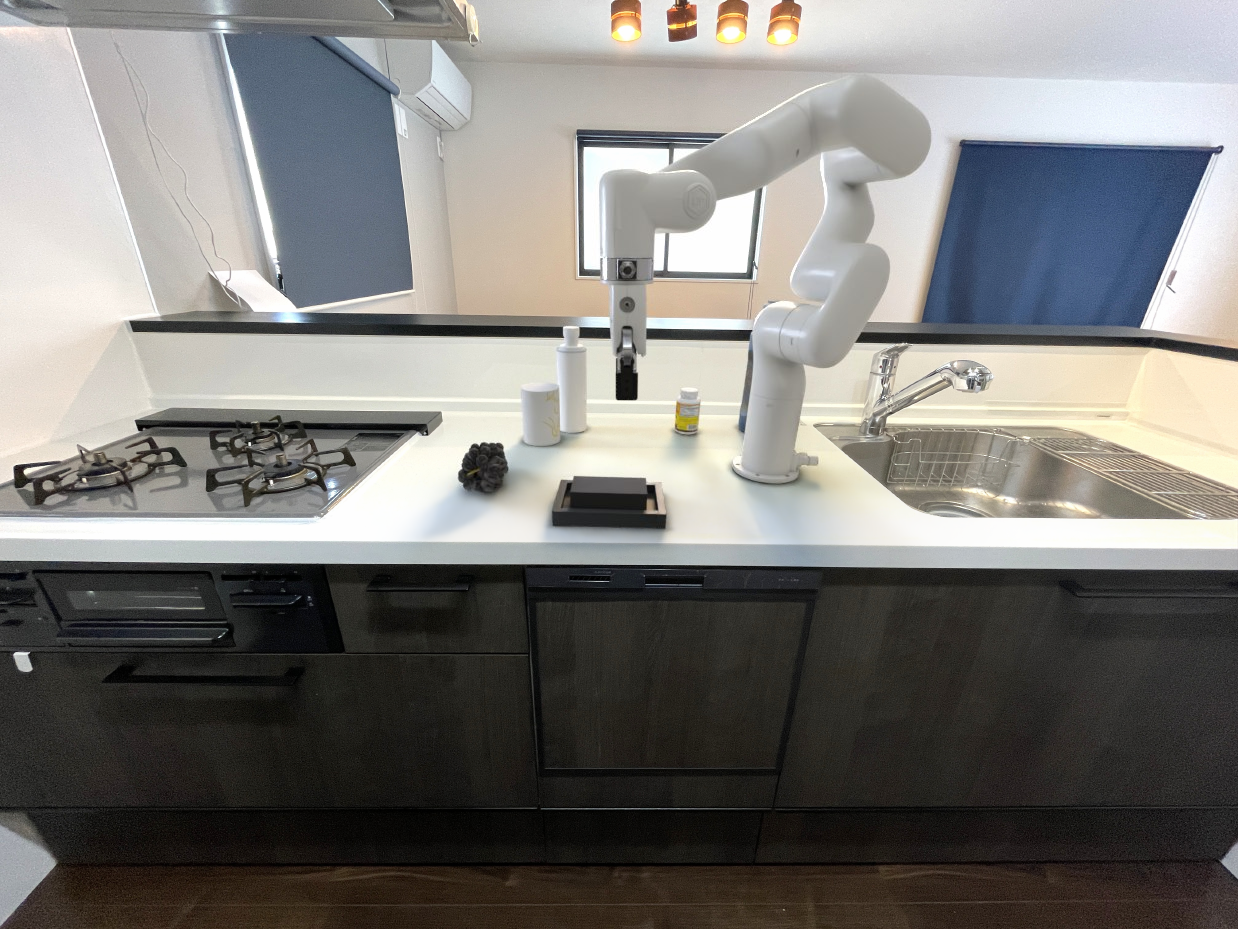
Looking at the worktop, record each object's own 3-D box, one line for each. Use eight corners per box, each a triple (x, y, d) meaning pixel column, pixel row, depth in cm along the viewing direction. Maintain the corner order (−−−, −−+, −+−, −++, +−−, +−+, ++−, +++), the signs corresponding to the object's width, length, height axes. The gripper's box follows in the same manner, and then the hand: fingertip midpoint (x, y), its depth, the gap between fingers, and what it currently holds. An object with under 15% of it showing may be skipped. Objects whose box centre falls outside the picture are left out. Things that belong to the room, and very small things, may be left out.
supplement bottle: (679, 426, 120) (682, 385, 116) (700, 430, 118) (705, 388, 114) (670, 432, 116) (673, 390, 112) (693, 437, 114) (697, 393, 110)
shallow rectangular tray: (660, 495, 86) (661, 482, 85) (665, 528, 76) (666, 514, 75) (561, 492, 86) (560, 479, 85) (552, 525, 76) (551, 511, 75)
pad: (644, 496, 83) (645, 477, 82) (646, 513, 78) (647, 494, 76) (573, 494, 83) (573, 475, 82) (570, 511, 78) (570, 492, 76)
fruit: (482, 419, 93) (459, 446, 79) (524, 433, 94) (509, 463, 80) (471, 459, 96) (447, 492, 82) (512, 472, 97) (495, 507, 83)
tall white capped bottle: (592, 428, 117) (592, 320, 107) (570, 435, 113) (568, 322, 103) (574, 422, 121) (573, 317, 111) (552, 427, 117) (549, 319, 107)
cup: (553, 447, 105) (552, 393, 100) (518, 444, 107) (514, 390, 102) (565, 435, 113) (564, 383, 108) (531, 431, 114) (529, 380, 109)
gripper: (658, 275, 61) (654, 407, 68) (650, 269, 77) (647, 377, 84) (597, 275, 61) (599, 407, 68) (602, 269, 77) (603, 377, 84)
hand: (626, 390), depth 76 cm, fingers open, 9 cm apart
